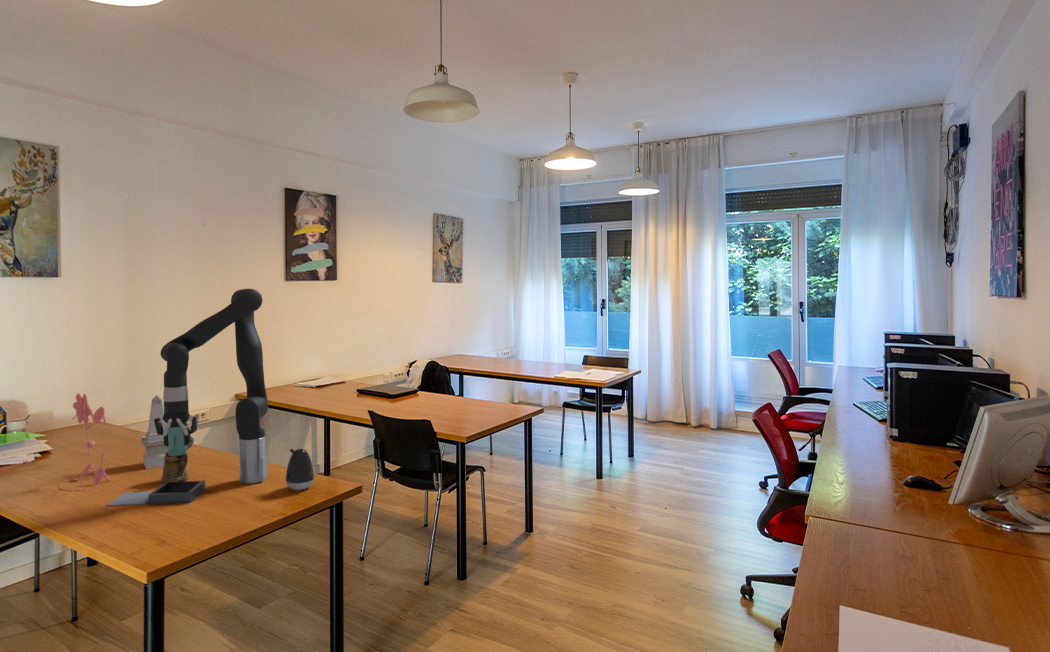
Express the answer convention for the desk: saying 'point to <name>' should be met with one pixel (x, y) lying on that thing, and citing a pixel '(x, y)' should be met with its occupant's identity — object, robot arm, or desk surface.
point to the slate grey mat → (131, 499)
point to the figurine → (83, 413)
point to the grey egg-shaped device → (299, 470)
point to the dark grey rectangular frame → (177, 492)
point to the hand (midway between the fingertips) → (177, 445)
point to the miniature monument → (154, 438)
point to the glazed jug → (176, 441)
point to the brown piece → (176, 467)
